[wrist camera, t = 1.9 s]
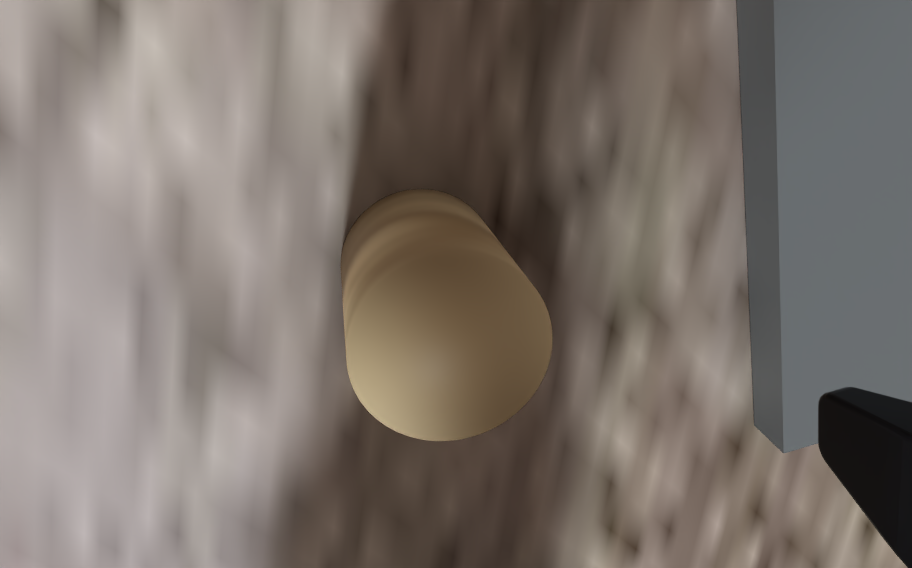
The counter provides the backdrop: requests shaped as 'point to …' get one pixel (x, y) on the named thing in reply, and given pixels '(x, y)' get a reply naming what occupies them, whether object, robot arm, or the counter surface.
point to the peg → (438, 319)
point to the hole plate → (826, 204)
